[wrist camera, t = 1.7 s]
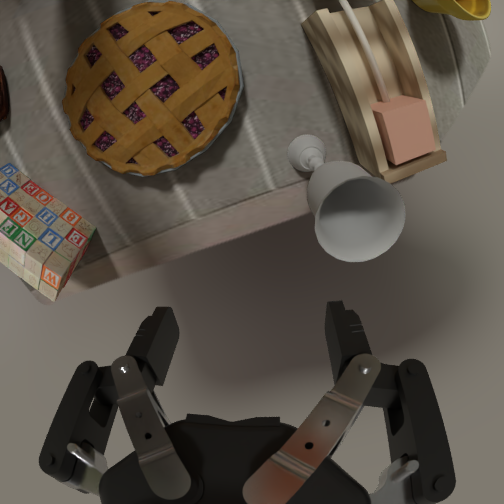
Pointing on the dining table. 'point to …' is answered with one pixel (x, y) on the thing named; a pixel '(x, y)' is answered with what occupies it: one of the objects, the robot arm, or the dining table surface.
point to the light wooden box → (372, 79)
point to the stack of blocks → (39, 234)
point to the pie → (152, 87)
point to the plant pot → (457, 8)
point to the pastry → (3, 96)
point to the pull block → (396, 112)
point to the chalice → (348, 204)
